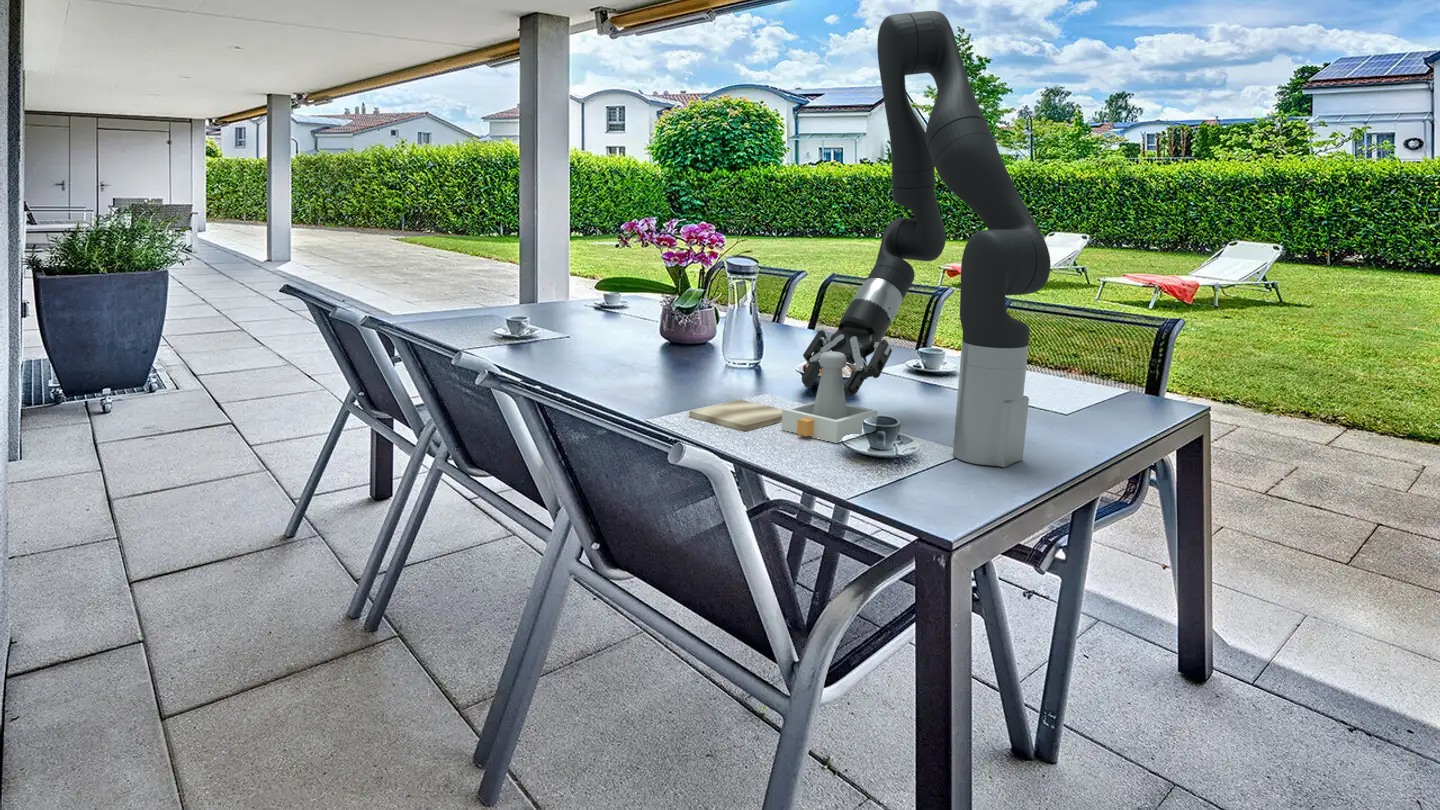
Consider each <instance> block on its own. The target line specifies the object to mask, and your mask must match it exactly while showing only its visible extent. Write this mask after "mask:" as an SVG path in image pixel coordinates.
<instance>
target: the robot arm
mask: <svg viewBox="0 0 1440 810" xmlns="http://www.w3.org/2000/svg"><path fill="white" fill-rule="evenodd" d="M876 46H877V60H878V70H879V76H880V85H881V88H882V98H883V103H884V109H885V114H886V121H887V126H888V131H889V132H888V133H889V140H890V152H891V180H892V181H891V186H892V188H891V189H892V190H891V191H892V199H893V202H894V203H895V204H897V205H899V206H901V207H904V208H907V209H909V210H910V211H911V212H912V214H913V216H914V218H908V217H900V218H896V219H894V220H892V221H891V222H890V223H888V225H887V226H886V227H885V229H884V230H883V234H882V238H881V241H880V242H881V243H880V246H879V249H878V254H877V256H876V261H875V265H874V266H873V267H872V269H871V271H870V273H869V275H868V276H867V277H866V280H865V281H864V282H863V284H861V286H860V287H859V289H858V290H857V291H856V293H855V295H854V297H853V298H852V300H851V301H850V303H849V305H848V306H847V308H846V310H845V312H844V313H843V315H842V317H841V318H840V319H839V324H838V327H837V330H836V331H835V332H834V333H832V334H828V333H826V332H825V331H824V330H823V329H820V330H818V332H817V333H816V335H815V336H814V338H813V339H812V340H811V342H810V344H809V345H808V347H807V348H806V350H805V352H804V353H803V354H802V356H803V358H804V360H805V361H806V363H807V364H808V365H807V366H806V369H805V370H804V371H803V373H802V376H801V383H802V384H803V385H804V388H807V389H811V388H812V387H813V385H814V383H815V381H816V380H817V378H818V376H819V375H820V373H821V371H822V369H823V367H821V366H820V363H819V359H820V355H821V354H822V353H824V352H830V351H834V352H840V353H843V354H844V355H845V356H846V364H847V363H848V364H850V365H855V369H856V370H853V371H851V372H852V373H851V374H850V376H849V378H848V379H847V381H846V383H845V385H844V393H845V396H847V397H850V398H852V397H854V395H856V394H857V393H858V391H859V390H860V389H861V387H862V385H863V383H864V382H865V380H867V379H868V378H871V377H872V378H873V379H878V378H879V377H880V376H881V374H882V372H883V370H884V368H885V366H886V364H887V362H888V360H889V358H890V356H891V355H892V352H893V350H892V348H891V346H890V344H889V342H888V340H886V339H883V338H884V336H885V334H886V333H887V331H888V329H889V328H890V326H891V324H892V322H893V321H894V319H895V317H896V315H897V313H898V311H899V309H900V307H901V305H902V303H903V301H904V298H905V297H906V295H907V293H908V292H909V290H910V288H911V286H912V284H913V282H914V280H915V277H916V276H915V270H914V267H912V265H911V264H910V263H909V262H907V260H910V261H920V262H932V261H935V260H937V259H938V258H940V256H941V255H942V254H943V251H944V249H945V246H946V236H947V235H946V230H945V229H946V228H945V224H944V221H943V218H942V215H941V214H942V213H941V211H940V207H939V203H938V199H937V195H936V187H935V186H936V184H935V182H936V178H935V176H936V175H935V173H936V172H937V174H938V177H939V179H941V181H942V182H943V184H944V185H945V186H946V187H947V188H948V189H949V190H950V191H951V192H952V193H954V195H955V196H957V197H958V198H959V199H960V200H961V201H962V202H963V203H965V204H966V205H967V206H968V207H969V208H970V209H972V211H973V212H974V213H976V214H977V215H978V216H979V218H980V219H981V220H982V222H983V224H985V226H986V228H987V229H982V230H979V231H976V232H974V233H973V234H972V235H971V236H970V237H969V239H968V240H967V242H966V244H965V247H964V250H963V253H962V259H961V266H960V294H959V295H960V298H959V301H960V302H959V319H960V324H961V329H962V338H961V340H962V341H961V350H960V359H959V360H960V362H959V373H958V384H957V385H958V386H957V387H958V388H957V395H956V396H957V398H956V399H957V400H956V409H955V410H956V411H955V421H954V422H955V423H954V436H953V447H952V448H953V449H952V455H953V457H954V458H957V459H959V460H960V461H963V462H965V463H970V464H975V465H982V466H993V467H994V466H997V467H1002V468H1006V467H1008V466H1011V465H1013V464H1016V463H1017V462H1019V461H1022V460H1023V459H1024V451H1025V450H1024V449H1025V441H1026V433H1027V432H1026V431H1027V421H1028V412H1029V401H1030V397H1029V396H1026V395H1025V394H1024V392H1025V386H1026V385H1025V382H1026V375H1027V364H1028V355H1029V354H1028V352H1029V345H1030V336H1031V328H1030V326H1029V325H1028V324H1027V323H1025V322H1023V321H1021V320H1018V319H1016V318H1014V317H1012V316H1011V315H1010V314H1009V313H1008V311H1007V305H1006V296H1023V295H1030V294H1034V293H1036V292H1038V291H1040V290H1042V289H1043V288H1044V287H1045V285H1046V284H1047V282H1048V280H1049V277H1050V273H1051V255H1050V252H1049V251H1050V250H1049V248H1048V245H1047V242H1046V240H1045V238H1044V236H1043V234H1042V232H1041V230H1040V229H1039V227H1038V226H1037V224H1036V222H1035V220H1034V218H1033V217H1032V215H1031V214H1030V212H1029V210H1028V208H1027V206H1026V205H1025V203H1024V201H1023V200H1022V198H1021V195H1020V194H1019V192H1018V191H1017V189H1016V186H1015V184H1014V182H1013V180H1012V178H1011V176H1010V174H1009V172H1008V170H1007V167H1006V165H1005V162H1004V161H1003V158H1002V157H1001V154H1000V151H999V149H998V146H997V143H996V140H995V138H994V137H993V134H992V131H991V129H990V127H989V125H988V122H987V120H986V118H985V116H984V113H983V111H982V110H981V108H980V105H979V102H978V101H977V98H976V95H975V93H974V91H973V88H972V87H971V84H970V80H969V78H968V75H967V72H966V69H965V66H964V62H963V59H962V57H961V52H960V50H959V47H958V46H959V45H958V42H957V39H956V36H955V33H954V30H953V28H952V26H951V23H950V22H949V20H948V18H947V17H946V15H945V14H944V13H942V12H940V11H937V10H925V11H915V12H905V13H896V14H890V15H888V16H885V18H884V19H883V20H882V22H881V23H880V25H879V29H878V34H877V45H876ZM919 74H929V75H931V77H932V78H933V80H934V82H935V86H936V90H937V93H936V98H935V101H934V104H933V107H932V109H931V113H930V115H929V118H928V121H927V125H926V129H924V128H923V127H924V126H922V124H921V123H920V121H919V119H918V118H917V116H916V114H915V113H914V111H913V108H912V106H911V104H910V101H909V98H908V94H907V89H906V76H909V75H910V76H911V75H919ZM870 355H872V356H871V359H870V360H869V362H868V360H867V359H868V358H867V357H868V356H870Z"/></svg>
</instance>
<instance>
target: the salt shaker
mask: <svg viewBox="0 0 1440 810" xmlns="http://www.w3.org/2000/svg"><path fill="white" fill-rule="evenodd" d="M819 363H820V366H821V367H823V369H821V374H820V378H819V382H818V386H817V391H816V395H815V400H814V401H815V404H814V408H813V412H812V414H813V415H817V416H821V417H826V418H830V419H834V420H837V419H841V418H844V417H848V415H847V408H846V404H847V402H846V401H847V400H846V393H845V392H844V386H845V385H844V376H843V374H844V373H843V369H844V368H845V367H846V366H847V362H846V356H845V355H844V354H843V353H840V352H834V351H832V350H831V351H829V352H824V353H822V354H821V355H820V359H819Z"/></svg>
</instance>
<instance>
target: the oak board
mask: <svg viewBox="0 0 1440 810" xmlns="http://www.w3.org/2000/svg"><path fill="white" fill-rule="evenodd" d="M782 409H783V408H778V407H774V406H770V405H766V404H761V403H757V402H753V401H748V400H745V399H744V400H743V399H737V400H733V401H729V402H723V403H719V404H715V405H710V406H706V407H702V408H698V409H697V408H696V409H693V410H689V412H688V413H689V415H688V417H690V418H693V419H697V420H701V421H703V422H708V423H711V424H715V425H716V424H717V425H720V426H723V427H728V428H730V429H735V430H739V431H742V432H749V431H753V430H755V429H760V428H764V427H768V426H771V425H770V424H772V425H774V423H776V424H778V423H777V422H779V423H781V422H780V421H782ZM767 425H768V426H767ZM763 426H764V427H763ZM752 429H753V430H752Z"/></svg>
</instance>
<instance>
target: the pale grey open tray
mask: <svg viewBox="0 0 1440 810" xmlns="http://www.w3.org/2000/svg"><path fill="white" fill-rule="evenodd" d="M814 404H815V400H814V401H811V402H807V403H804V404H803V403H802V404H797V405H796V406H795V405H794V406H791V407H787V408H781V409H782V422H781V431H783V430H785V431H784V432H787V431H789V432H788V433H791V432H794V433H793V434H795V433H797V434H796V435H799V436H803V437H806V438H808V437H807V436H811V437H815V438H820V439H823V440H827V441H831V442H839V441H840V440H841V439H842V438H843V437H844V436H846V435H850V434H861V433H862V422H863V421H864V420H865V419H867V418H870V417H875V416H877V417H878V415H879V414H878V412H879V411H878V410H876V409H871V408H867V407H863V406H862V407H861V406H858V405H852V404H848V403H846V408H847V415H848V417H844V418H841V419H837V420H834V419H830V418H826V417H821V416H817V415H813V414H812V412H813V408H814Z"/></svg>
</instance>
